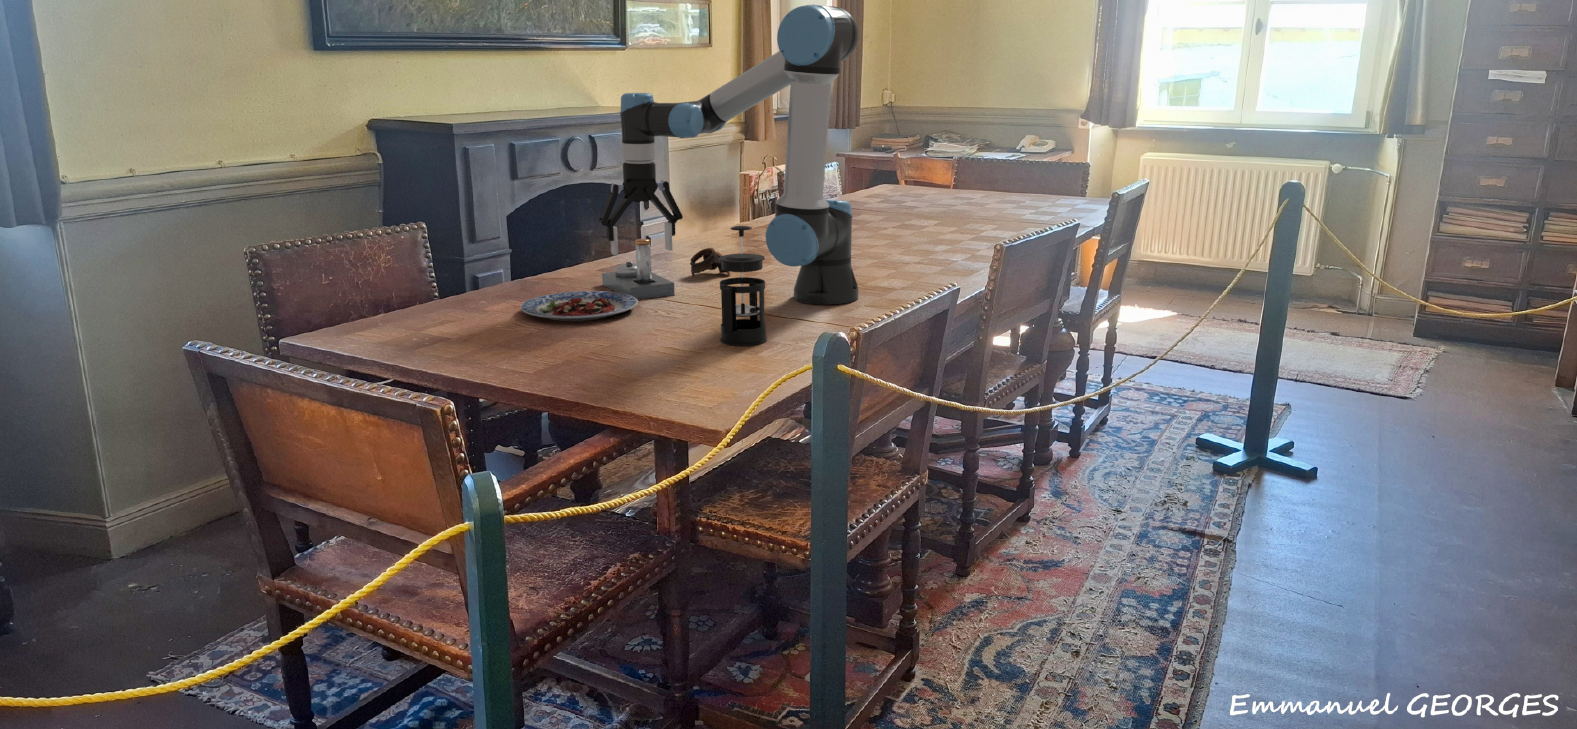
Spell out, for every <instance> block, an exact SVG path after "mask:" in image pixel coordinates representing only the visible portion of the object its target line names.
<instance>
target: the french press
mask: <svg viewBox="0 0 1577 729" xmlns="http://www.w3.org/2000/svg"><path fill="white" fill-rule="evenodd" d="M752 229H753V228H752V227H751V226H749V225H735V226H732V227H730V230H731V231H738V237H740V253H733V254H732V253H731V254H723V255H722V256H721V257H719V260H720V261H721V262H722V270H724V271H729V272H730V273H741V274H740V277H738V276H737V277H730V278H729V277H728V278H725V279H722V280H720V281H719V290H720V293H721V294H720V295H721V323H720V338H719V339H720V340H719V341H720V343H721V344H724V345H726V346H731V347H752V346H759V345H762V344H765V343H766V342H767V341H768V337H767V335H766V334H767V333H766V332H767V329H766V328H767V327H766V326H767V324H766V319H765V315H766V314H765V289H766V281H765V279H762V278H759V277H747V276H746V277H744V273H750V272H751V273H752V272H757V271H761V270H762V269H763V261H764V260H765V258H766V257H765V256H764V255H762V254H756V253H743V252H744V251H743V248H744V247H743V243H744V242H743V238H744V237H745V234H744V233H745V231H749V230H752ZM744 284H745V286H744ZM737 285H739V286H737ZM747 285H749V286H747ZM758 292H759V293H758ZM737 294H741V303H740V304H737ZM744 294H748V295H749V296H748V297H749V298H748V299H749V302H748V303H749V304H745V300H744V299H745V298H744V297H745V296H744ZM758 294H759V295H758ZM758 296H759V299H758ZM758 300H759V301H758ZM758 303H759V304H758ZM747 317H748V318H747ZM758 317H759V319H758ZM738 318H739V319H738Z"/></svg>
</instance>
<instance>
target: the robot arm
mask: <svg viewBox="0 0 1577 729" xmlns="http://www.w3.org/2000/svg"><path fill="white" fill-rule="evenodd" d="M776 35H777V37H776V41H777V42H776V43H777V47H778V50H779V51H777V52H775V53H774V54H772V55H771V56H769V57H768V58H765V59H763V60H762V61H761V62H759V63H758V64H756V65H754V66H753V67H751V68H749V69H747V70H746V71H745V72H742V73H741V74H739V75H738V76H737V77H735V78H733V79H732V80H730V81H727V82H726V83H725V84H723V85H721V86H720V87H718V88H716V89H715V90H712V92H710V93H709V94H707V95H705V96H704V97H702V98H700V99H699V100H693V101H683V102H656V101H655V100H654V95H653V93H649V92H625V93H623V94H622V95H621V97H620V111H619V115H620V123H621V124H620V126H621V149H622V152H621V155H622V160H623V161H624V162H623V163H622V176H623V177H622V179H623V182H622V184H617V183H610V185H609V186H610V187H609V194H608V196H607V198H606V200H605V203H604V205H603V208H602V211H601V213H600V216H599V217H598V220H597V223H598V224H599V225H601V226H605V227H606V239H607V241H609V242H610V253H611V254H612V255H613V256H619V241H618V238H619V237H618V227H617V226H616V223H617V222H619V220H620V218H621V217H622V215H623V214H624V213H625V212H626V210H627V208H628V207H629V206H630V205H631V204H632V203H641V202H644V203H648V202H649V201H650V202H651V203H652V204H653V205H654V207H655V208H656V209H658V211H659V212H660V213H661V214H662V216H663V217H664V218H665V219H666V220H667V221H663V222H664V224H663V225H664V248H665V250H666V251H670V252H671V251H673V237H675V236H676V223H677V222H678V221H679V220H683V217H684V216H683V214H682V212H681V210H680V208H679V206H678V203H677V202H676V201H675V198H674V196H673V194H672V192H671V190H670V183H669V181H666V180H663V179H662V180H661V181H658V182H657V180H656V178H657V177H656V176H657V173H656V171H657V170H656V163H655V162H654V161H655V160H656V146H655V145H656V144H655V141H656V140H655V139H656V138H655V137H664V138H665V137H668V138H679V139H689V138H690V139H691V138H692V139H694V138H697V137H699V135H700V134H701V135H703V134H713V133H715V132H717V131H720V130H722V129H723V128H724V127H725V125H726V123H727V122H729V121H730V120H732V119H734V118H735V117H737V116H739V115H741V114H742V113H745V112H746V111H748V110H749V109H751V108H753V107H754V106H756V105H758V104H760V103H761V102H764V101H765V100H766V99H768V98H770V97H771V96H774V95H775V94H777V93H778V92H781V91H782V90H784V89H785V88H787V87H789V88H790V90H789V100H788V101H789V102H788V103H789V104H788V105H789V106H788V119H787V134H786V135H787V136H786V149H785V150H786V152H785V153H786V154H785V163H784V164H785V167H784V183H783V194H782V195H781V196H780V197H779V198H777V200H775V210H774V211H775V213H774V217H773V218H772V220H771V221H770V222H769V223H768V225H767V227H766V230H765V243H766V247H767V249H768V252H769V253H770V255H772V256H773V258H774V259H775V260H776V261H777V262H778V263H780V264H781V265H783V266H787V267H792V268H793V267H794V268H795V267H800V268H799V271H798V274H797V276H796V277H797V278H796V280H795V284H794V287H793V299H794V300H795V301H797V302H801V303H805V304H811V305H841V304H847V303H852V302H855V301H857V300H858V299H859V287H858V286H859V285H858V283H857V279H856V277H855V274H854V270H853V268H852V234H853V232H852V231H853V230H852V228H853V227H852V225H853V224H852V222H853V214H852V205H851V203H850V202H849V201H847V200H838V199H825V197H824V187H825V175H826V173H825V172H826V158H827V148H828V147H827V146H828V135H829V134H828V132H829V122H830V121H829V120H830V108H831V96H832V94H831V93H832V83H833V82H834V81H835V80H836V79H837V78H838V77H839V76H840V73H841V72H840V71H841V63H842V62H843V61H845V60H846V59H848V58H849V57H850V56H851V55H852V54H853V53H854V51H855V50H856V47H857V45H858V41H859V27H858V25H857V22H856V20H855V18H854V17H853V16H852V15H851V13H849V12H848V11H847V10H845V9H844V8H841V7H838V6H830V5H829V6H828V5H827V6H826V5H818V4H806V5H800V6H797V7H795V8H792V9H791V10H790V11H789V12H788V13H787V14H785V16H784V17H783V18H782V20H781V22H780V24H779V26H778V29H777V33H776ZM657 190H659V191H661V193H662V196H663V198H664V199H665V201H666V203H667V205H668V207H669V209H670V210H669V209H668V208H667V207H666V206H665V204H663V203H662V201H661V200H660V198H659V197H658V196H657V195H656V192H657ZM621 191H623V193H624V195H623V197H622V198H621V200H620V202H619V204H617V206H616V207H614V206H615V204H616V202H617V199H618V196H619V194H621ZM614 208H615V209H614ZM613 209H614V210H613ZM612 211H613V212H612Z"/></svg>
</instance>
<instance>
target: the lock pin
mask: <svg viewBox="0 0 1577 729" xmlns="http://www.w3.org/2000/svg"><path fill="white" fill-rule="evenodd" d="M634 244H635V246H634V247H635V264H636V267H637V284H646V283H652V273H653V272H652V255H651V253H652V251H651V239H650V238H637V239H634Z"/></svg>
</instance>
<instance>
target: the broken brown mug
mask: <svg viewBox="0 0 1577 729" xmlns="http://www.w3.org/2000/svg"><path fill="white" fill-rule="evenodd" d="M715 250H716V249H714V248H712V247H706V248H703V249H701V250H699V251H698V252H696V253H695V254H694V255H693V256H692V257H691V258H690V263H689V264H690V274H691V276H692V277H693V278H694V277H695V274H700V273H701V272H702V273H703V272H705V271H707V270H709V271H715V270H716V269H718V272H719V274H724V273H725V274H727V277H728V278H729V277H730V276H731V272H729V271H724V270H722V262H721V261H720V260H719V257H721V256H723V254H721V252H718V251H715ZM700 259H703V260H701V261H699V262H697V261H698V260H700Z"/></svg>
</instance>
